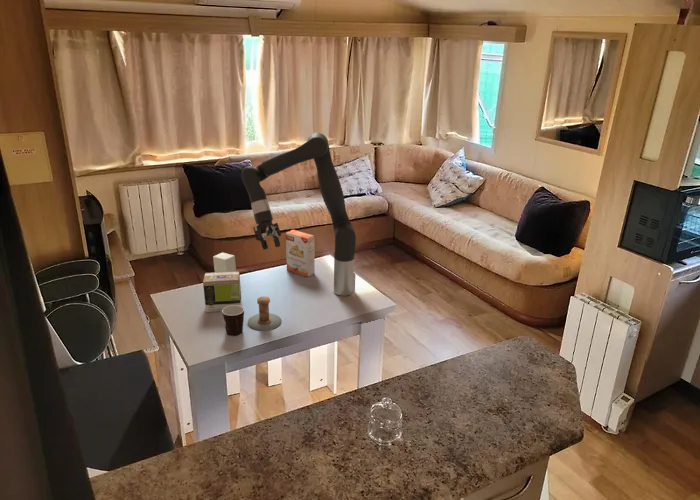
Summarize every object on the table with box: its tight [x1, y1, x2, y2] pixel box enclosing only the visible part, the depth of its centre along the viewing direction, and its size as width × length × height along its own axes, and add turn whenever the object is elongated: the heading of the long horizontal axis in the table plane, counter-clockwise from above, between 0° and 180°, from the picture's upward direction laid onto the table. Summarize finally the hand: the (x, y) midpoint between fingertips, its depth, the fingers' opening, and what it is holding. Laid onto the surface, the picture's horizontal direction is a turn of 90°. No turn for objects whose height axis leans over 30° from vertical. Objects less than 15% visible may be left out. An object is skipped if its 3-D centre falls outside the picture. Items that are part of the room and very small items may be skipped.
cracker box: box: [285, 229, 316, 278], centre depth 270 cm, size 14×6×21 cm, turn 55°
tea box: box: [202, 270, 242, 313], centre depth 235 cm, size 15×10×15 cm
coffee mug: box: [221, 305, 245, 337], centre depth 215 cm, size 12×9×10 cm
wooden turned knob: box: [256, 295, 271, 324], centre depth 224 cm, size 6×6×10 cm
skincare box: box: [212, 251, 237, 272], centre depth 254 cm, size 8×7×16 cm
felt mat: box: [247, 312, 282, 332], centre depth 226 cm, size 14×14×1 cm
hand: (272, 248), depth 233 cm, fingers open, 8 cm apart
